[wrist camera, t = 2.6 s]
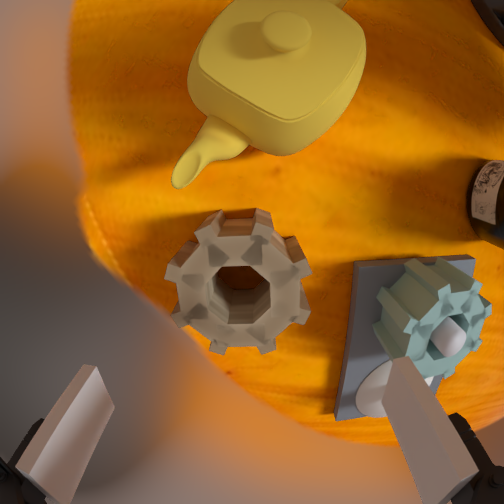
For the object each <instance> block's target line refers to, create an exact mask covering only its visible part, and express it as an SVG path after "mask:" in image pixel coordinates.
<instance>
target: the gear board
mask: <svg viewBox="0 0 504 504" xmlns="http://www.w3.org/2000/svg"><path fill="white" fill-rule="evenodd" d="M475 261H476V259H475V258H473V257H471V256H470V255H453V256H438V257H422V258H405V259H387V260H369V261H354V269H353V282H352V293H351V303H350V313H349V321H348V329H347V337H346V344H345V351H344V358H343V364H342V371H341V376H340V382H339V388H338V393H337V398H336V403H335V408H334V416H335V420H336V421H341V420H348V419H354V418H360V417H365V416H369V417H386V416H387V414H386V412H385V410H384V407H383V405H382V403H381V401H382V398H383V395H384V391H385V388H386V385H387V381H388V378H389V374H390V370H391V367H392V363H393V359H396V358H401V357H406V356H409V358H410V359H411V360H412V362H413V363H414V365H415V366H416V368H417V369H418V371H419V372H420V374H421V375H422V377H423V378H424V380H425V381H426V383H427V384H428V386H429V387H430V389H431V390H432V392H433V394H434V395H435V394H436V391H437V389H438V387H439V384H440V382H441V379H442V377H443V378H444V379H446V378H447V377H449V376H450V375H452V374H454V373H455V366H456V365H457V364H458V363H459V362H460V361H461V360H462V359H463V358H464V357H465V356H466V355H467V354H468V353H469V352H470V351H475V352H476V351H477V349H478V347H479V346H480V344H481V343H482V340H481V339H480V338H479V335H480V332H481V329H482V326H483V323H484V320H485V318H487V317H488V316H489V315H491V303H490V302H489V301H487V300H486V299H485V298H483V297H482V296H481V295H479V294H478V293H479V291H480V289H481V287H482V284H481V283H480V282H478V281H477V280H475V279H474V278H472V277H473V272H474V266H475Z"/></svg>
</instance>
